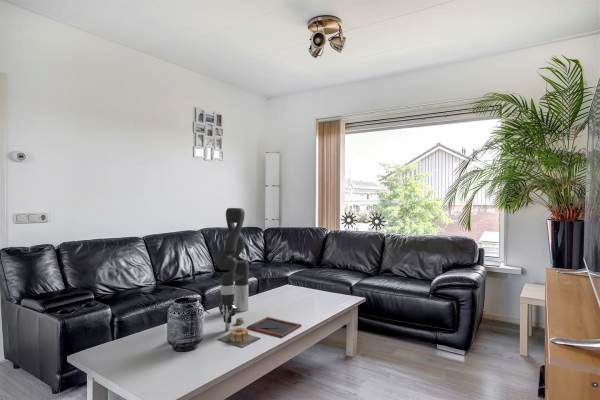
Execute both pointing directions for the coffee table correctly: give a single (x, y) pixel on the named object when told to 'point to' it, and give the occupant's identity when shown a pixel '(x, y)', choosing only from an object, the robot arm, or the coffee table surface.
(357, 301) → the coffee table surface
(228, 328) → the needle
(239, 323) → the bead
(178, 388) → the coffee table surface
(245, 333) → the cake on slate board
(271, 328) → the picture frame
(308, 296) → the coffee table surface
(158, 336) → the coffee table surface
